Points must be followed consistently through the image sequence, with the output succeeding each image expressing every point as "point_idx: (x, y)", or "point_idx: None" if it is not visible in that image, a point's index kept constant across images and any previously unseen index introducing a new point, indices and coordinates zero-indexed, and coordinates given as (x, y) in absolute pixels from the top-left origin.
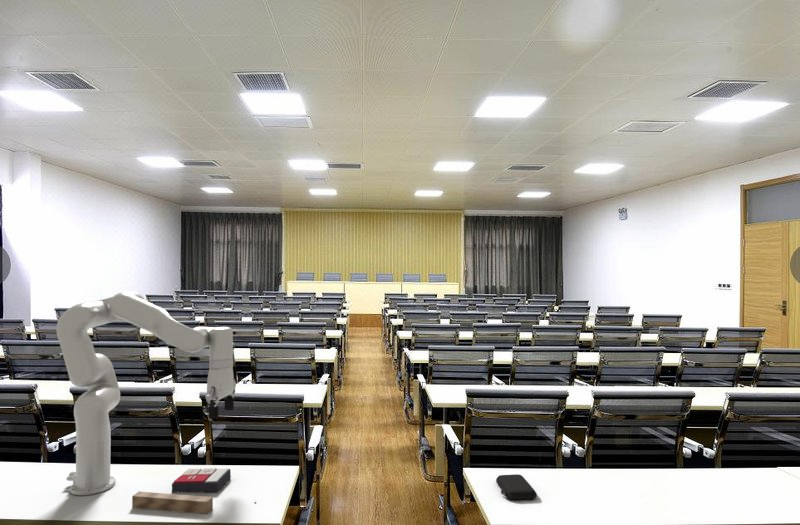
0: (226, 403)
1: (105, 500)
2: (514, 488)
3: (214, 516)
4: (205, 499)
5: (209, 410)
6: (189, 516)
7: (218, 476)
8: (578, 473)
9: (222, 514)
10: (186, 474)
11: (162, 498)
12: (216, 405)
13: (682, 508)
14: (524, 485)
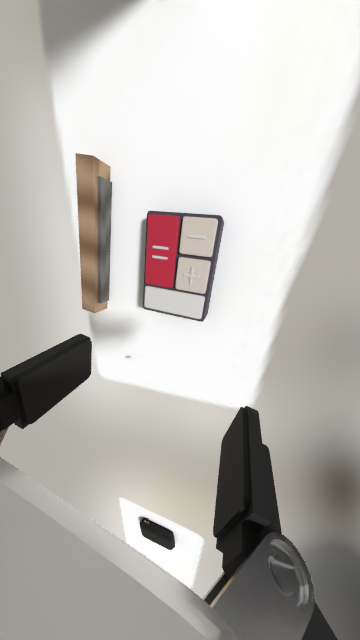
0: (236, 461)
1: (113, 54)
2: (144, 531)
3: (92, 314)
4: (87, 304)
5: (38, 359)
6: None
7: (162, 306)
8: (185, 569)
9: (97, 322)
10: (182, 229)
11: (79, 230)
12: (2, 426)
13: None
14: (150, 538)
